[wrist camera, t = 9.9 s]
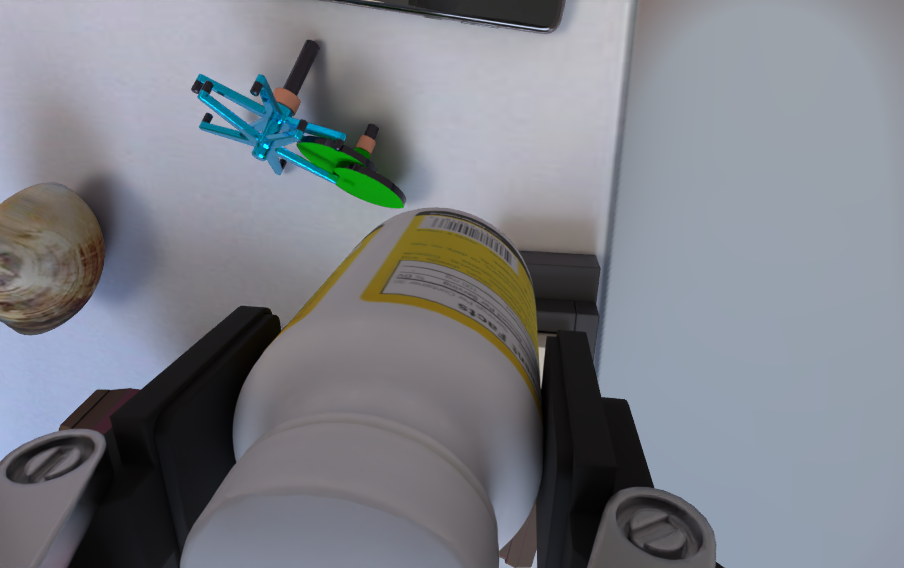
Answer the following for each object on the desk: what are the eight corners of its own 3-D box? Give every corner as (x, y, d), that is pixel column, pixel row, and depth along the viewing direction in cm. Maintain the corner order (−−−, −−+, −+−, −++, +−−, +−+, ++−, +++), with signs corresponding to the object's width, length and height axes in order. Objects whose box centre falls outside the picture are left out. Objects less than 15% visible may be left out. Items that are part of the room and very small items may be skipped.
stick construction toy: (181, 140, 30) (170, 87, 23) (235, 35, 31) (241, -46, 24) (376, 234, 34) (419, 214, 27) (416, 138, 35) (467, 95, 28)
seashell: (50, 158, 34) (-83, 184, 26) (136, 192, 34) (28, 226, 26) (43, 288, 37) (-75, 342, 30) (121, 318, 38) (22, 379, 30)
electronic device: (505, 485, 42) (523, 609, 32) (141, 445, 39) (49, 564, 30) (536, 364, 37) (567, 467, 28) (130, 312, 35) (20, 404, 26)
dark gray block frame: (578, 399, 35) (584, 437, 32) (486, 391, 36) (482, 428, 32) (595, 255, 32) (605, 279, 28) (493, 249, 32) (489, 272, 29)
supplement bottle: (385, 391, 17) (227, 755, 8) (323, 231, 15) (31, 467, 6) (556, 358, 16) (593, 744, 7) (510, 180, 14) (479, 384, 5)
